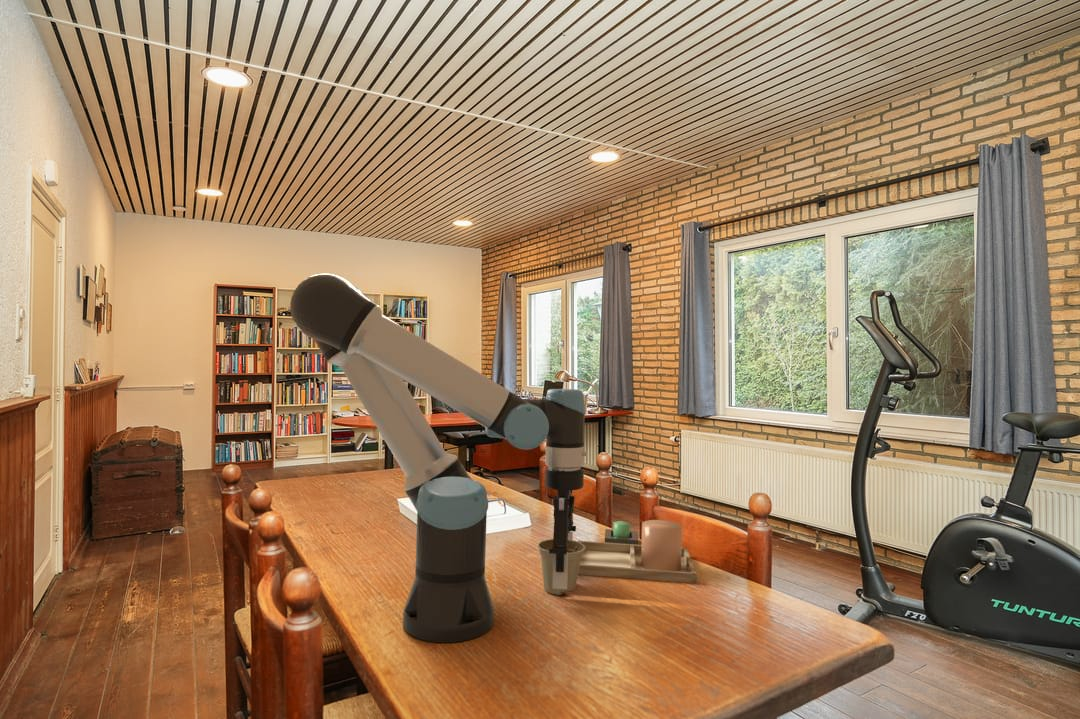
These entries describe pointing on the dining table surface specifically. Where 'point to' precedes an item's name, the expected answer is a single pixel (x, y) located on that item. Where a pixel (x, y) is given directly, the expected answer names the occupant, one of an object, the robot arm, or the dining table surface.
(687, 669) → the dining table surface
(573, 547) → the flower pot
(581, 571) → the wooden serving tray
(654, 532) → the taupe pillar candle
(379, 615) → the dining table surface
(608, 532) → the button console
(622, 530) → the button
